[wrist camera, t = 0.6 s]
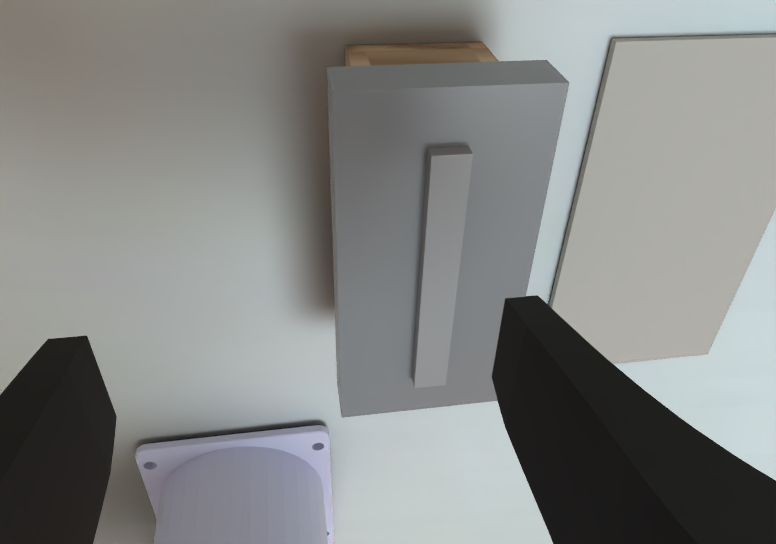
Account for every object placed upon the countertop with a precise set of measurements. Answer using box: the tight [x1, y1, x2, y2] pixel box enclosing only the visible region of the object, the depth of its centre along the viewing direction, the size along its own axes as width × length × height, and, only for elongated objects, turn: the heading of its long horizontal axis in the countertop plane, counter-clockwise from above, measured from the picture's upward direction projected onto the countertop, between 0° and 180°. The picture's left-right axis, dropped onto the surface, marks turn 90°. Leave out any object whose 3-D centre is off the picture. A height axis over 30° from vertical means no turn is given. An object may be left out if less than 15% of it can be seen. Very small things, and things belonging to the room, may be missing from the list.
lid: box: [327, 60, 569, 417], centre depth 18 cm, size 11×6×2 cm, turn 178°
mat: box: [549, 34, 776, 364], centre depth 24 cm, size 14×8×1 cm, turn 178°
